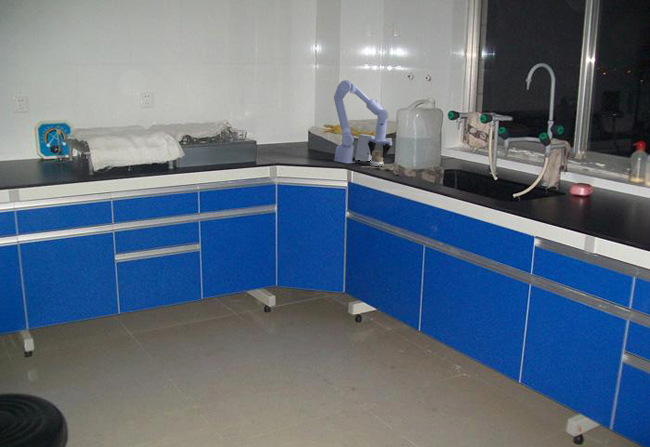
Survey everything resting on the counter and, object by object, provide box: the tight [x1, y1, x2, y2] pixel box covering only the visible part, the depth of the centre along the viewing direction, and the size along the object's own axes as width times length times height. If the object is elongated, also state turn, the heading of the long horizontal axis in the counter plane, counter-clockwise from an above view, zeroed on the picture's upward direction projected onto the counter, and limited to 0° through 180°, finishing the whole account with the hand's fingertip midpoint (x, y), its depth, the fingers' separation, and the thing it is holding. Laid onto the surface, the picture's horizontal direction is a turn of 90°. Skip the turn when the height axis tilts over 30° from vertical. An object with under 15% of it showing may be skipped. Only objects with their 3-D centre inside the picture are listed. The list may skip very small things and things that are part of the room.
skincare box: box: [355, 133, 375, 162], centre depth 387 cm, size 8×6×15 cm
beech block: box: [370, 150, 384, 162], centre depth 371 cm, size 4×4×6 cm
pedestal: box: [370, 161, 384, 167], centre depth 372 cm, size 7×7×2 cm
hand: (377, 156), depth 371 cm, fingers open, 7 cm apart
